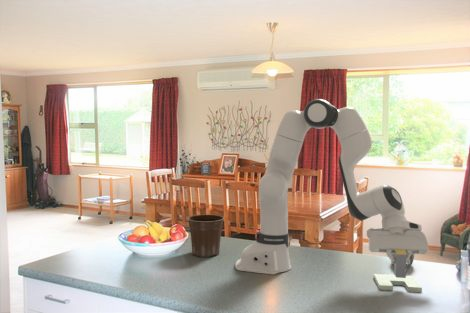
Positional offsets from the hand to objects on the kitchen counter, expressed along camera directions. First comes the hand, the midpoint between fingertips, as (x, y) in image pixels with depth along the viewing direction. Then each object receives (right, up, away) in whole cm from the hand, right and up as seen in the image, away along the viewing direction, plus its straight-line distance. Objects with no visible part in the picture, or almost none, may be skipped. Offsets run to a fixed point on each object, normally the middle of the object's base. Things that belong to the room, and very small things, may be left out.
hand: (400, 263), depth 150 cm
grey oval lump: (+11, -8, +26) cm, 30 cm away
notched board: (0, -9, +5) cm, 10 cm away
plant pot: (-71, -6, +42) cm, 82 cm away
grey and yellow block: (0, -5, +1) cm, 5 cm away
